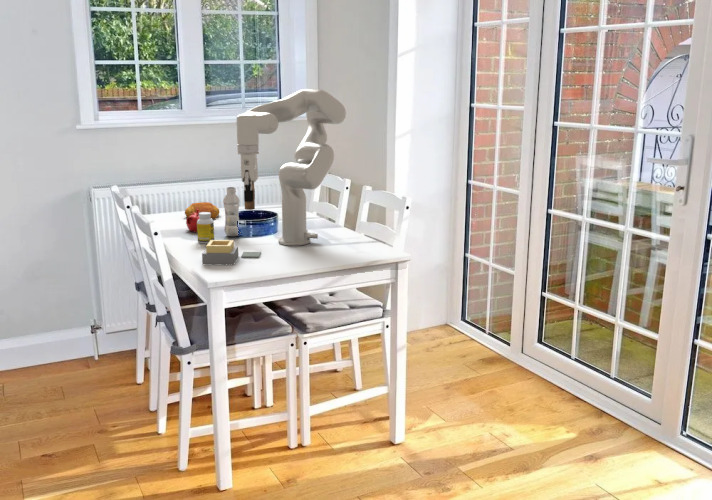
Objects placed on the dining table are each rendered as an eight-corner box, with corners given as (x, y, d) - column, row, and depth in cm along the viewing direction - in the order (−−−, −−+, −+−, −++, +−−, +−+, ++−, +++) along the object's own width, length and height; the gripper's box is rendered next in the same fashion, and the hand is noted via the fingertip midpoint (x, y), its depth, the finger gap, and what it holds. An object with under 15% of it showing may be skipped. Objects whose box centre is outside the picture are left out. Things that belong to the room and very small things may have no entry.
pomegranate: (212, 228, 305) (211, 207, 302) (208, 233, 295) (207, 211, 293) (188, 227, 304) (188, 206, 302) (184, 232, 295) (183, 210, 292)
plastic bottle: (233, 238, 286) (232, 189, 281) (221, 236, 289) (219, 188, 284) (244, 235, 291) (242, 187, 286) (231, 233, 295) (230, 185, 290)
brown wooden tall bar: (255, 207, 258) (254, 166, 254) (254, 209, 255) (253, 168, 251) (245, 207, 258) (244, 166, 254) (244, 209, 255) (242, 168, 251)
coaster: (261, 253, 264) (261, 251, 264) (259, 258, 258) (259, 256, 258) (243, 253, 264) (243, 251, 264) (241, 257, 258) (241, 256, 258)
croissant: (186, 219, 331) (183, 202, 329) (219, 213, 334) (216, 197, 331) (186, 225, 317) (182, 208, 315) (221, 219, 320) (218, 202, 318)
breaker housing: (238, 256, 259) (237, 239, 258) (233, 264, 249) (233, 246, 247) (208, 256, 259) (207, 239, 258) (202, 264, 249) (201, 246, 247)
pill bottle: (210, 244, 277) (209, 215, 274) (195, 243, 278) (193, 214, 275) (217, 240, 283) (215, 211, 280) (201, 239, 284) (200, 211, 281)
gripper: (255, 152, 243) (257, 204, 248) (261, 146, 259) (262, 196, 264) (234, 152, 243) (235, 204, 248) (240, 146, 259) (242, 196, 264)
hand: (249, 199), depth 256 cm, fingers closed on brown wooden tall bar, 3 cm apart
